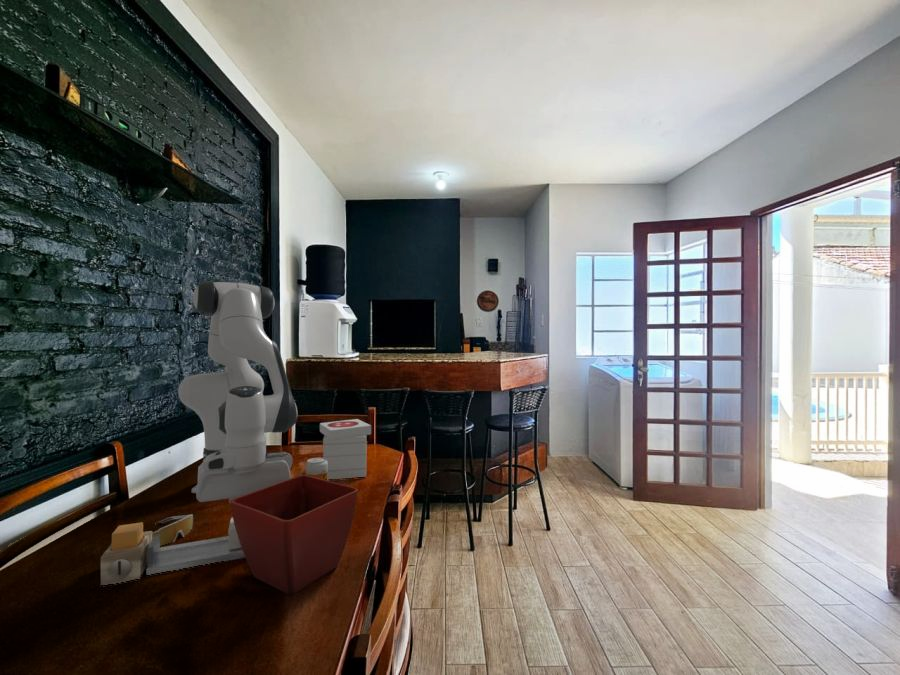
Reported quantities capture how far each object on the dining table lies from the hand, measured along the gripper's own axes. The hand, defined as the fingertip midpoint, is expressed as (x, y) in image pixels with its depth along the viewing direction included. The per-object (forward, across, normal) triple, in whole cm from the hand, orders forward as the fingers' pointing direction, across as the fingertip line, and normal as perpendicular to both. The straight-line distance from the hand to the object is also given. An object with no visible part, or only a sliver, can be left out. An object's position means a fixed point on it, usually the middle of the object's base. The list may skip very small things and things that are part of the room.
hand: (246, 513), depth 100 cm
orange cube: (+3, +23, 0) cm, 23 cm away
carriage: (+7, 0, 0) cm, 7 cm away
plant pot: (+9, -10, +15) cm, 20 cm away
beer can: (+9, -18, -16) cm, 25 cm away
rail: (+9, +6, 0) cm, 11 cm away
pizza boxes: (+9, -32, -54) cm, 63 cm away
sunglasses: (+9, +21, -17) cm, 29 cm away
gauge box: (+9, +23, 0) cm, 25 cm away
